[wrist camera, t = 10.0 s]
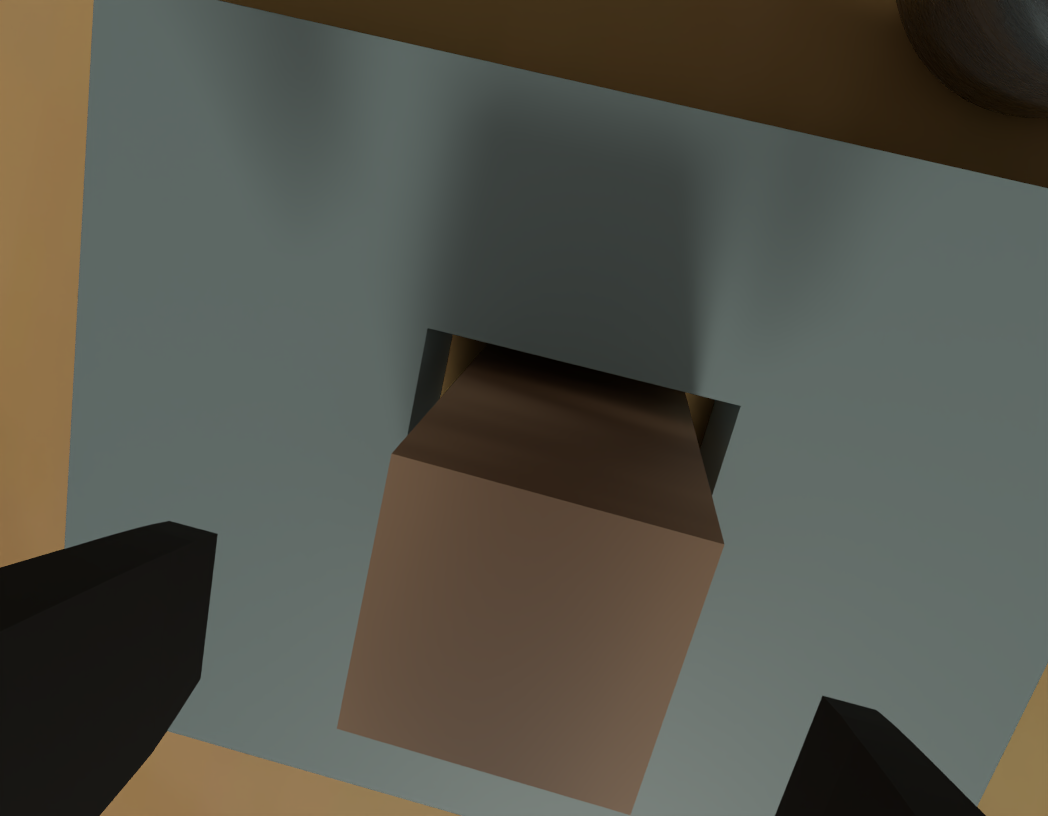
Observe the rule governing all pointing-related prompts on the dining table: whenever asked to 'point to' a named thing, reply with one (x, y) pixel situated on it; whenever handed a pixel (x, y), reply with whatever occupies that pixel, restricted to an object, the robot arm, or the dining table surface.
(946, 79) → the gunmetal plug
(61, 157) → the dining table surface
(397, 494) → the walnut peg
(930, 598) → the socket plate
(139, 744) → the robot arm
